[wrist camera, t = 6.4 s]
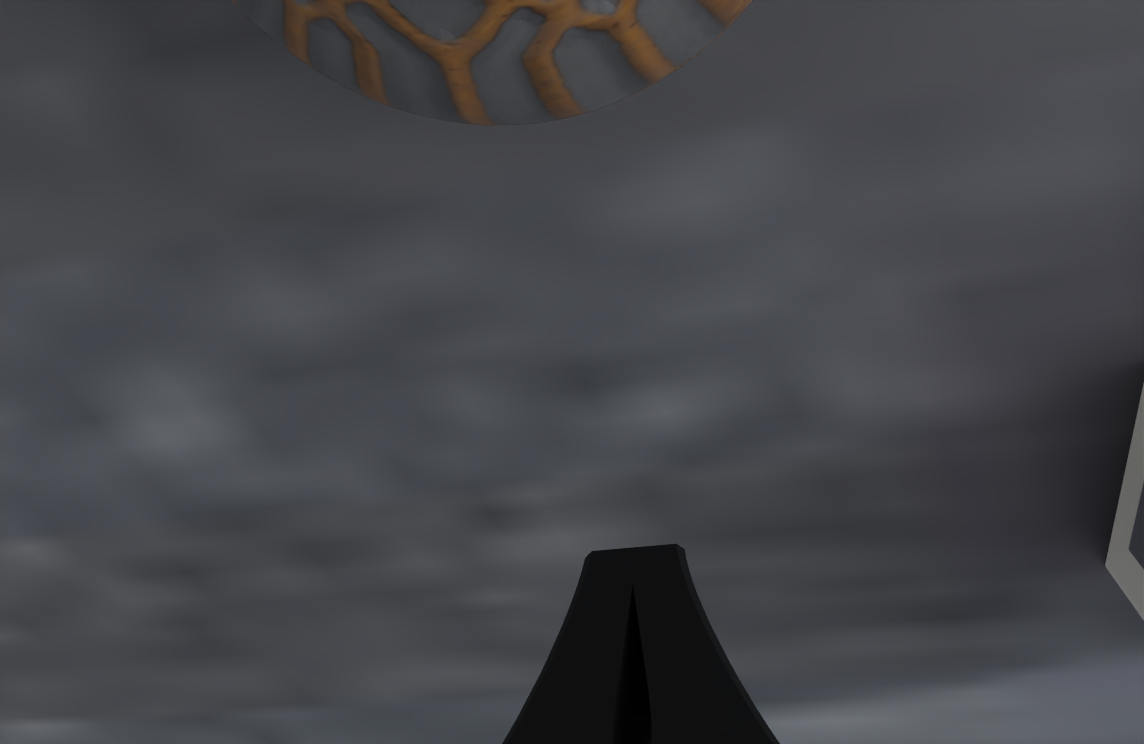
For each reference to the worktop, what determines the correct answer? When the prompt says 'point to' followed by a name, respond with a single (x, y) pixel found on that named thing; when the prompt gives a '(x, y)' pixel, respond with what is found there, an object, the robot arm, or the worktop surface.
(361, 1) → the vase
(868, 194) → the worktop surface
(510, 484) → the worktop surface
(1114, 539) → the letter cube
